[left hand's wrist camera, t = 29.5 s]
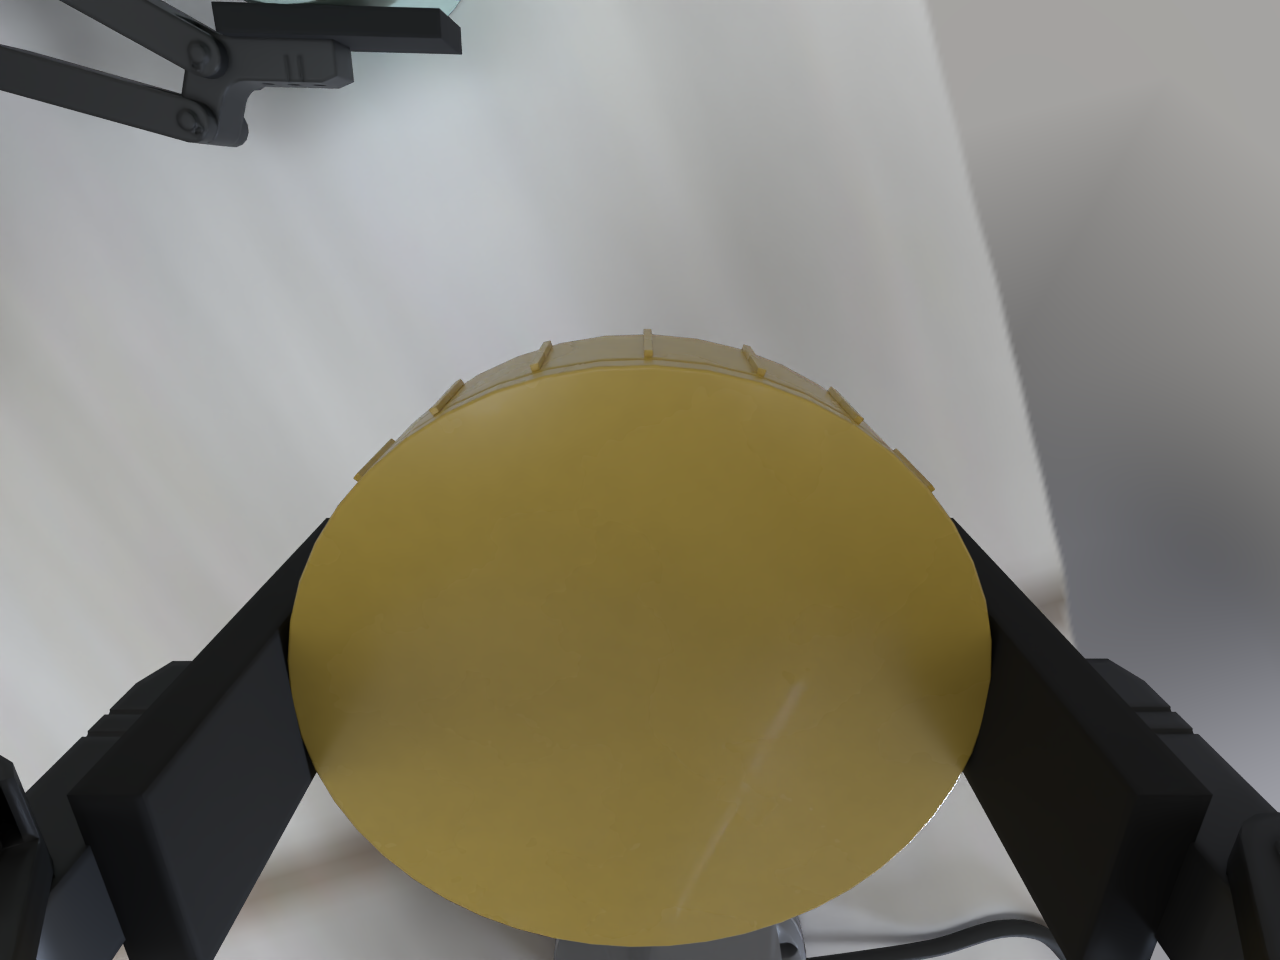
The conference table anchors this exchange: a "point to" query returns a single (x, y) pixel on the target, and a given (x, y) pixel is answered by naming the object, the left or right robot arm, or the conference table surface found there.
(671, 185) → the conference table surface
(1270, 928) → the left robot arm
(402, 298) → the conference table surface
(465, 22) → the conference table surface
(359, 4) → the jar
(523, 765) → the lid
